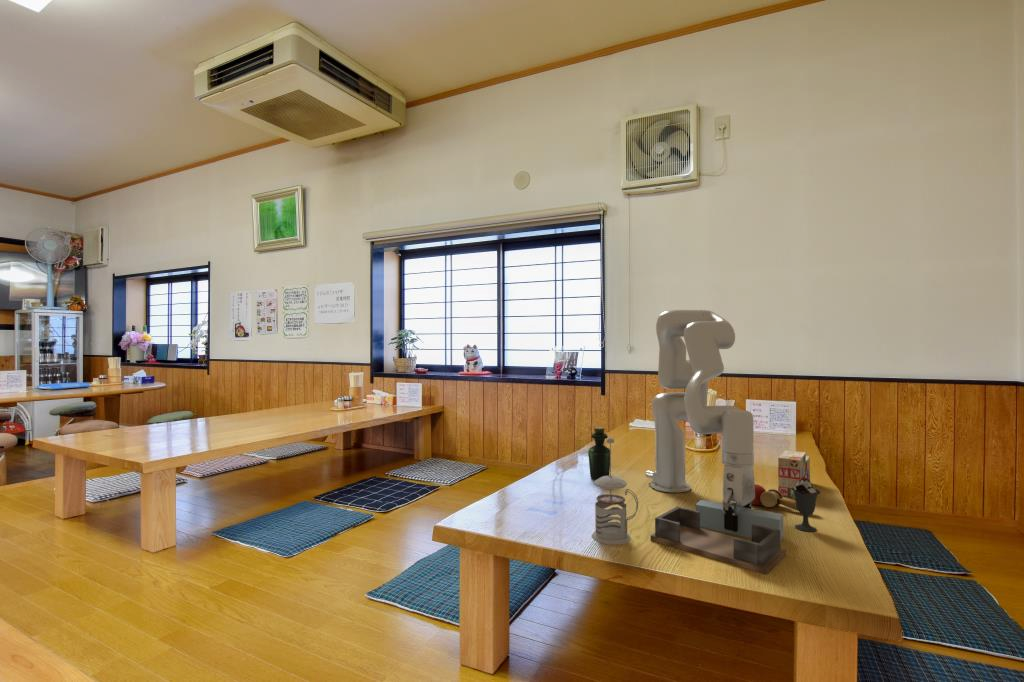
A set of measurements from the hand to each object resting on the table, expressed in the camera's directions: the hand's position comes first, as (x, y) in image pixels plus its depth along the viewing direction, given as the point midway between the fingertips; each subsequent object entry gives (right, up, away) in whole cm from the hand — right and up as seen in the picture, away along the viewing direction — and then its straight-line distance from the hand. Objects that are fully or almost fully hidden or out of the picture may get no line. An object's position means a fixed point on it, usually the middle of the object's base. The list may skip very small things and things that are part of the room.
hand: (738, 525), depth 132 cm
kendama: (+19, -2, +17) cm, 26 cm away
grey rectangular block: (0, -2, 0) cm, 2 cm away
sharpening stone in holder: (-10, -2, -10) cm, 14 cm away
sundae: (+18, -2, +2) cm, 19 cm away
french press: (-33, -2, -3) cm, 33 cm away
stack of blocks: (+35, -2, +37) cm, 50 cm away
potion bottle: (-27, -2, +51) cm, 58 cm away
